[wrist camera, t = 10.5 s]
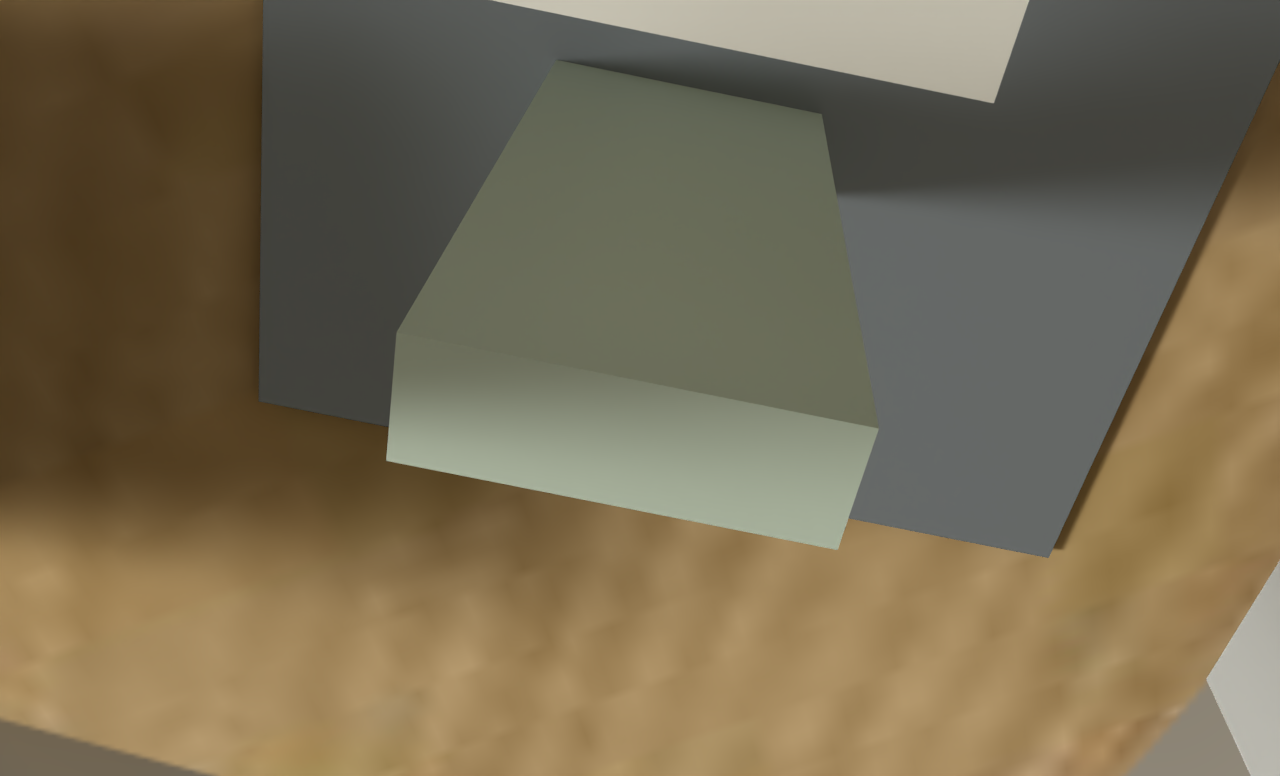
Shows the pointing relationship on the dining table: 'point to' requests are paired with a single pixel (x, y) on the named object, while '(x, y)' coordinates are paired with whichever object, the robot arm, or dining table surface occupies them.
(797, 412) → the domino
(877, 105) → the domino mat
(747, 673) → the dining table surface
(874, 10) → the domino
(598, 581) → the dining table surface
